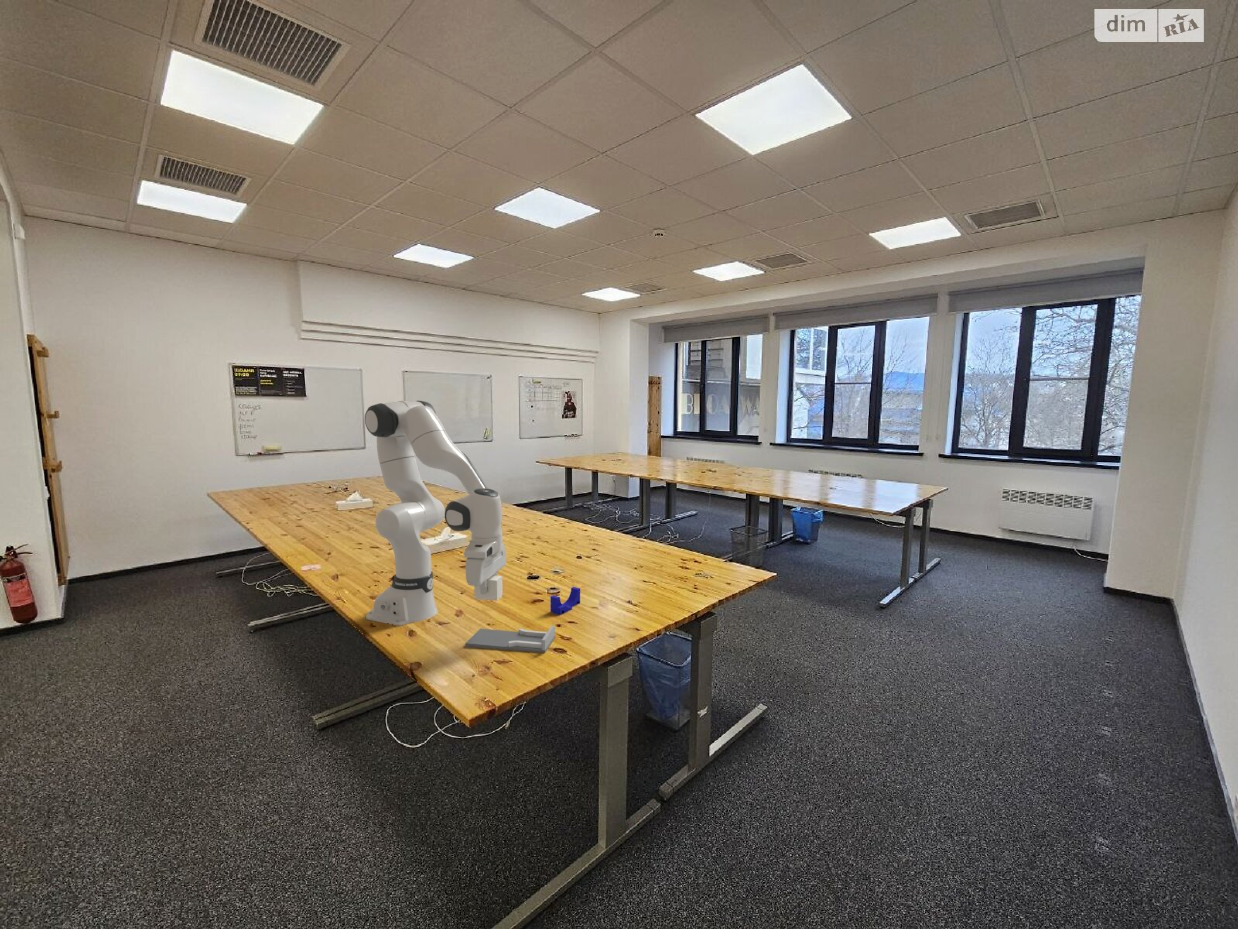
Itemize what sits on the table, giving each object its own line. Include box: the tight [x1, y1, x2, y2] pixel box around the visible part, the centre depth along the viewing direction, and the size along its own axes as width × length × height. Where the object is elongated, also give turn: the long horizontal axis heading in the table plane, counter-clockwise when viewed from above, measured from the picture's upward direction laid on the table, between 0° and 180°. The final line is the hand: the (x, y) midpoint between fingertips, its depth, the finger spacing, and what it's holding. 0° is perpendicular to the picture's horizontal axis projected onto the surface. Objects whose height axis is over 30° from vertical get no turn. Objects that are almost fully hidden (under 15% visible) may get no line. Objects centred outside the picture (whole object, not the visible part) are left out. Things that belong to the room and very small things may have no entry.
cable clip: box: [549, 586, 581, 616], centre depth 174 cm, size 12×4×6 cm, turn 144°
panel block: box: [473, 575, 504, 601], centre depth 148 cm, size 7×4×6 cm, turn 81°
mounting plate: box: [464, 625, 556, 654], centre depth 148 cm, size 24×10×4 cm, turn 81°
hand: (488, 590), depth 148 cm, fingers closed on panel block, 4 cm apart
